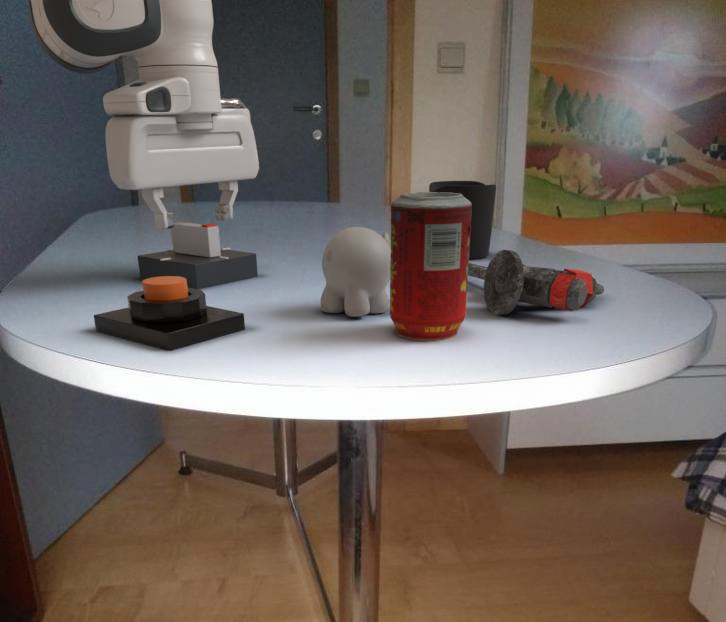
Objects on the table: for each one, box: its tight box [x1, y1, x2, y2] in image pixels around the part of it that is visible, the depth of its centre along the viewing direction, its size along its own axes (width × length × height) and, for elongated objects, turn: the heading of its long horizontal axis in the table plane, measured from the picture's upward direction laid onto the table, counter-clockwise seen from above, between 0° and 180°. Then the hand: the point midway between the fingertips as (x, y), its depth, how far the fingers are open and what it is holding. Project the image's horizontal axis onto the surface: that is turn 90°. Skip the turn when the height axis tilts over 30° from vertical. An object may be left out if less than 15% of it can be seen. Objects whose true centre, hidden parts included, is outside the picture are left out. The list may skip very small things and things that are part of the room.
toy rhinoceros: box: [319, 226, 391, 318], centre depth 75 cm, size 7×12×8 cm, turn 133°
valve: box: [468, 249, 605, 316], centre depth 81 cm, size 6×26×15 cm
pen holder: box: [428, 180, 497, 261], centre depth 104 cm, size 9×9×10 cm
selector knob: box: [170, 221, 221, 258], centre depth 90 cm, size 7×2×4 cm, turn 52°
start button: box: [141, 276, 189, 301], centre depth 67 cm, size 4×4×2 cm
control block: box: [93, 288, 246, 352], centre depth 68 cm, size 11×9×4 cm
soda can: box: [389, 191, 472, 342], centre depth 65 cm, size 7×7×12 cm
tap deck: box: [137, 247, 259, 290], centre depth 91 cm, size 11×11×3 cm
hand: (196, 224), depth 89 cm, fingers open, 8 cm apart
